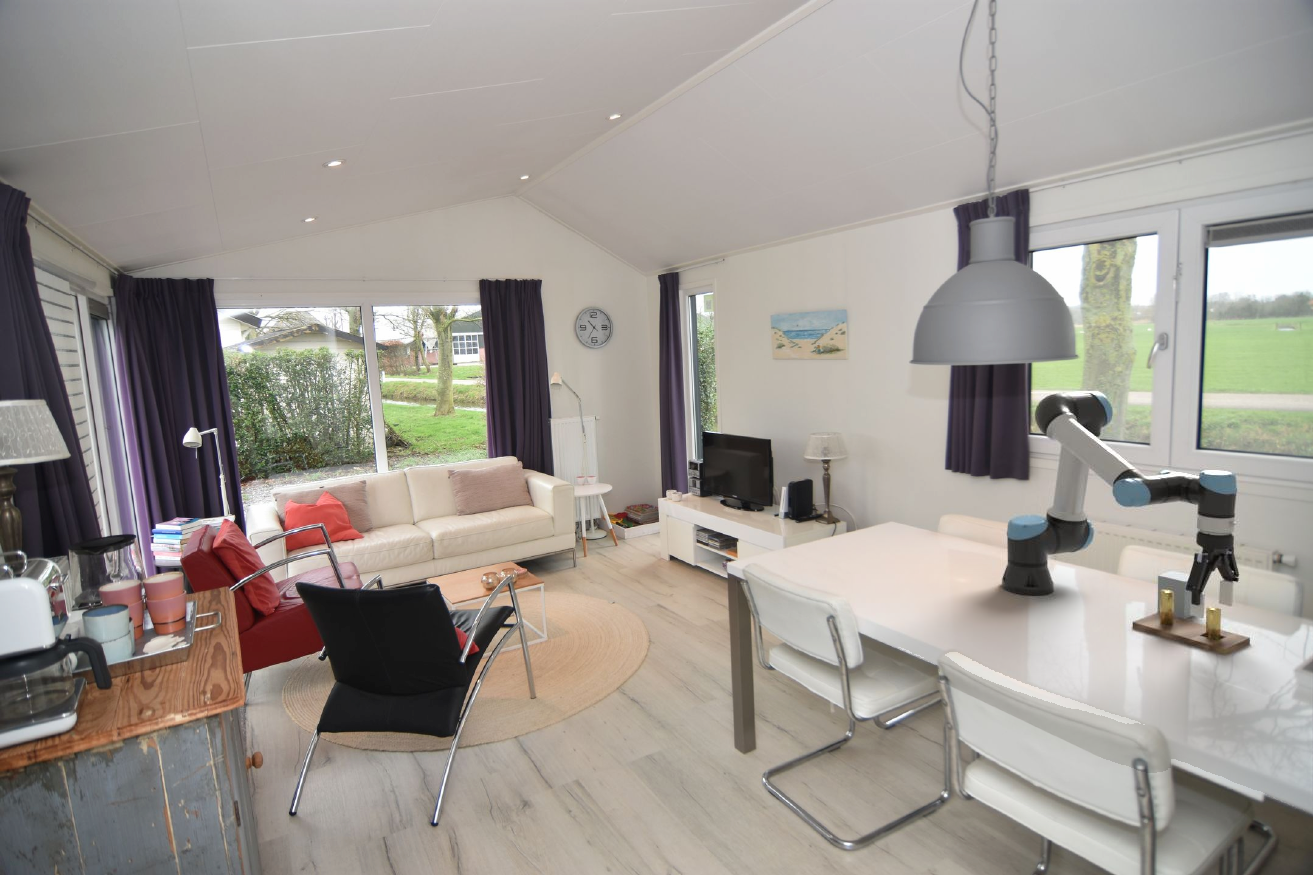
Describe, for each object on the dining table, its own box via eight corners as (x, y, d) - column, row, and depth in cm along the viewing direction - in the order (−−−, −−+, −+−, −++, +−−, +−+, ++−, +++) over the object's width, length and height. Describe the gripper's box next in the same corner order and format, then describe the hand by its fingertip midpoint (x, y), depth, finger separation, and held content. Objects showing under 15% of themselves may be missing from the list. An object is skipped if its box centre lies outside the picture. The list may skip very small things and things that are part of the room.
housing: (1157, 611, 205) (1158, 575, 204) (1171, 606, 208) (1171, 570, 207) (1184, 619, 199) (1185, 581, 198) (1198, 613, 202) (1198, 576, 201)
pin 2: (1203, 641, 184) (1203, 608, 183) (1209, 638, 186) (1209, 606, 185) (1216, 645, 182) (1217, 611, 181) (1222, 642, 183) (1223, 609, 182)
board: (1132, 627, 196) (1132, 621, 196) (1157, 617, 201) (1157, 612, 201) (1224, 655, 176) (1224, 648, 176) (1249, 643, 181) (1249, 637, 181)
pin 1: (1157, 622, 194) (1158, 591, 193) (1163, 620, 195) (1164, 588, 194) (1169, 626, 191) (1170, 594, 190) (1175, 623, 193) (1176, 591, 192)
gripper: (1205, 543, 172) (1201, 626, 174) (1258, 525, 182) (1253, 604, 185) (1171, 536, 178) (1168, 616, 181) (1224, 520, 189) (1220, 595, 192)
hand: (1211, 610), depth 183 cm, fingers open, 13 cm apart
